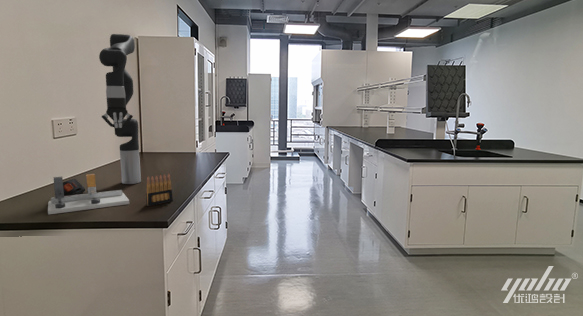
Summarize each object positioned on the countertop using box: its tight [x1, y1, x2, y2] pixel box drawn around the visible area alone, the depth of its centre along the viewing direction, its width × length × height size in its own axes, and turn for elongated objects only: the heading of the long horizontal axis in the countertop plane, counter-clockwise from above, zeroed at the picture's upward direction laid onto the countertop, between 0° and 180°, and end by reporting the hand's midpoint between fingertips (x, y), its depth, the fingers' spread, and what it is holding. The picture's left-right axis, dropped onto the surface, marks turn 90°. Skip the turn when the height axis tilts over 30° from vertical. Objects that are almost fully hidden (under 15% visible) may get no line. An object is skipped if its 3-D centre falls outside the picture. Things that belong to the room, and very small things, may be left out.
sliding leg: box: [85, 173, 97, 199], centre depth 151 cm, size 11×3×8 cm, turn 32°
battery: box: [63, 178, 86, 196], centre depth 165 cm, size 12×8×7 cm
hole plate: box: [47, 192, 130, 215], centre depth 151 cm, size 16×28×3 cm, turn 122°
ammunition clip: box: [145, 173, 174, 207], centre depth 152 cm, size 11×2×12 cm, turn 135°
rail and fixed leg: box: [50, 176, 123, 204], centre depth 150 cm, size 11×26×10 cm, turn 122°
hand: (118, 136), depth 164 cm, fingers closed
